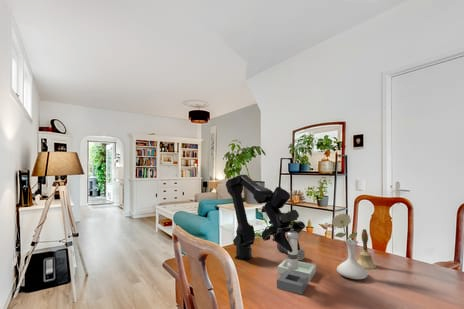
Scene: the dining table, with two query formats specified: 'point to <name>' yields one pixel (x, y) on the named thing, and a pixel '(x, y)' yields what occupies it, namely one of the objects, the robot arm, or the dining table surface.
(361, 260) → the hand bell
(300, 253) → the flashlight
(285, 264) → the parts tray
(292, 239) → the frosted bulb
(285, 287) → the socket block
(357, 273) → the flower in vase
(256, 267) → the dining table surface
